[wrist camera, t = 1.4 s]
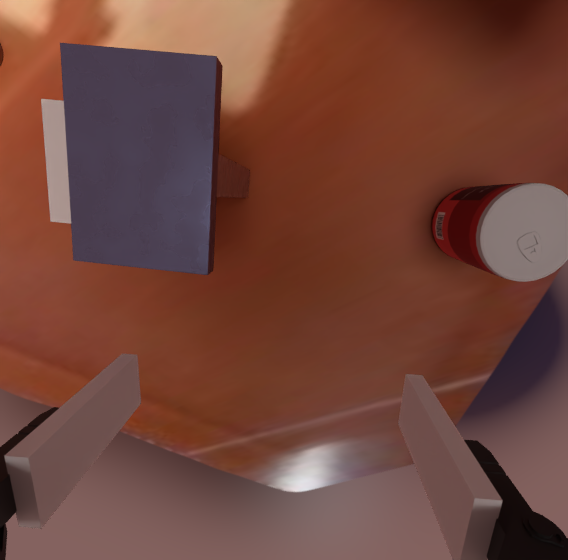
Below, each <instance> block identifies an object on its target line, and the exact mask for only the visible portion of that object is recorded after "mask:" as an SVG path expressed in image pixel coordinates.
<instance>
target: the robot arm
mask: <svg viewBox="0 0 568 560" xmlns="http://www.w3.org/2000/svg"><path fill="white" fill-rule="evenodd" d="M140 404H141V397H140V384H139V371H138V358H137V355H132V354H122V355H120V356H119V357H118V358H117V359H116V360H115V361H113V362H112V363H111V364H110V365H109V366H108V367H106V368H105V369H104V370H103V371H102V372H101V373H99V374H98V375H97V376H96V377H95V378H94V379H93V380H91V381H90V382H89V383H88V384H87V385H86V386H84V387H83V388H82V389H81V390H80V391H79V392H77V393H76V394H75V395H74V396H73V397H72V398H71V399H69V400H68V401H67V402H66V403H65V404H64V405H62V406H61V407H60V408H57V407H54V408H52V409H50V410H48V411H47V412H44V413H42V414H40V415H39V416H38V417H36V418H35V419H34V420H33V421H32V422H30V423H29V424H28V426H26V427H24V428H23V429H22V430H21V431H19V433H18V434H16V435H15V436H13V437H12V438H11V439H10V440H8V441H7V442H6V443H5V444H4V445H2V446H1V447H0V560H5V556H6V541H7V540H6V539H7V528H6V524H5V523H6V522H7V521H8V520H9V519H10V518H11V517H12V515H13V514H14V513H15V512H16V515H17V520H18V525H19V526H20V527H30V528H40V529H42V527H43V526H44V525H45V524H46V522H47V521H48V520H49V518H50V517H51V516H52V515H53V513H54V512H55V511H56V510H57V508H58V507H59V506H60V505H61V503H62V502H63V501H64V500H65V498H66V497H67V495H69V493H70V492H71V491H72V490H73V488H74V487H75V486H76V484H77V483H78V482H79V481H80V479H81V478H82V477H83V476H84V474H85V473H86V472H87V471H88V469H89V468H90V467H91V465H92V464H93V463H94V462H95V461H96V459H97V458H98V457H99V456H100V454H101V453H102V452H103V451H104V449H105V448H106V447H107V445H108V444H109V443H110V442H111V440H112V439H113V438H114V437H115V435H116V434H117V433H118V432H119V430H120V429H121V428H122V427H123V425H124V424H125V423H126V422H127V420H128V419H129V418H130V417H131V415H132V414H133V413H134V411H135V410H136V409H137V408H138V406H139V405H140ZM398 424H399V427H400V429H401V432H402V434H403V437H404V439H405V442H406V444H407V447H408V449H409V452H410V454H411V457H412V459H413V462H414V464H415V466H416V469H417V472H418V474H419V476H420V479H421V482H422V484H423V487H424V489H425V492H426V494H427V496H428V499H429V501H430V504H431V506H432V509H433V511H434V514H435V516H436V519H437V521H438V524H439V526H440V529H441V531H442V534H443V536H444V539H445V541H446V544H447V546H448V549H449V551H450V554H451V556H452V559H453V560H487V559H488V560H568V538H566V536H565V535H564V533H563V532H562V531H561V530H560V529H559V528H558V527H557V526H556V525H555V524H554V523H553V522H552V521H550V520H549V519H547V518H545V517H544V516H543V515H540V514H538V513H536V512H533V511H532V509H531V508H530V507H529V505H528V504H527V502H526V501H525V500H524V498H523V497H522V495H521V494H520V493H519V491H518V490H517V489H516V487H515V486H514V484H513V483H512V481H511V480H510V479H509V477H508V476H506V473H505V472H504V470H503V469H502V467H501V466H499V463H498V462H497V460H496V459H495V458H494V456H493V455H492V453H491V452H490V451H489V450H487V449H486V448H485V447H484V446H483V445H481V444H480V443H479V442H478V441H473V440H463V438H462V436H461V435H460V434H459V432H458V430H457V429H456V427H455V426H454V424H453V422H452V421H451V419H450V418H449V416H448V415H447V413H446V412H445V410H444V408H443V407H442V405H441V404H440V402H439V401H438V399H437V398H436V396H435V394H434V393H433V391H432V390H431V388H430V387H429V385H428V384H427V382H426V380H425V379H424V377H423V376H422V375H411V374H406V376H405V383H404V390H403V396H402V403H401V409H400V416H399V423H398Z"/></svg>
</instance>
